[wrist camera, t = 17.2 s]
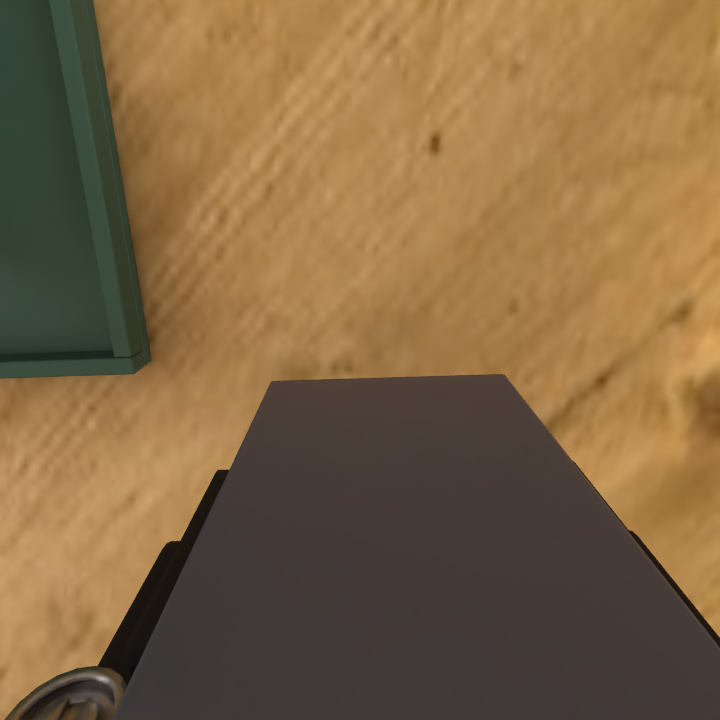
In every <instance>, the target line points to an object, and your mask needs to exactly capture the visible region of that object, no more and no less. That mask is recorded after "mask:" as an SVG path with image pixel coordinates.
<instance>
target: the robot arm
mask: <svg viewBox="0 0 720 720" xmlns="http://www.w3.org/2000/svg"><path fill="white" fill-rule="evenodd" d="M573 462H574V461H573ZM574 464H575V465H576V463H575V462H574ZM576 466H577V465H576ZM577 467H578V466H577ZM578 469H579V470H580V468H579V467H578ZM580 471H581V470H580ZM228 472H229V470H217V472H216V473H215V475H214V477H213V479H212V481H211V483H210V485H209V487H208V489H207V490H206V492H205V494H204V496H203V498H202V500H201V502H200V504H199V506H198V508H197V510H196V512H195V514H194V516H193V518H192V520H191V521H190V523H189V525H188V527H187V529H186V531H185V533H184V535H183V537H182V539H181V541H171V542H169V543H167V544H166V545H165V546H164V548H163V549H162V551H161V552H160V554H159V556H158V558H157V560H156V562H155V563H154V565H153V567H152V569H151V571H150V572H149V574H148V576H147V578H146V580H145V581H144V583H143V585H142V587H141V589H140V590H139V592H138V594H137V596H136V598H135V599H134V601H133V603H132V605H131V607H130V608H129V610H128V612H127V614H126V616H125V617H124V619H123V621H122V623H121V625H120V626H119V628H118V630H117V632H116V634H115V635H114V637H113V639H112V641H111V643H110V644H109V646H108V648H107V650H106V652H105V653H104V655H103V657H102V659H101V661H100V663H99V664H98V666H92V667H85V668H77V669H74V670H71V671H69V672H66V673H63V674H60V675H58V676H56V677H54V678H52V679H51V680H49V681H47V682H46V683H44V684H42V685H40V686H39V687H37V688H36V689H35V690H34V691H32V692H31V693H30V694H29V695H28V696H26V697H25V698H24V699H23V700H21V701H20V702H19V703H18V704H17V706H16V707H15V708H14V709H13V710H12V711H11V713H10V714H9V715H8V716H7V717H6V719H5V720H112V718H113V716H114V714H115V712H116V710H117V708H118V705H119V703H120V701H121V699H122V697H123V695H124V693H125V691H126V688H127V686H128V684H129V682H130V680H131V678H132V676H133V674H134V671H135V669H136V667H137V665H138V663H139V661H140V659H141V657H142V655H143V652H144V650H145V648H146V646H147V644H148V642H149V640H150V638H151V635H152V633H153V631H154V629H155V627H156V625H157V623H158V621H159V618H160V616H161V614H162V612H163V610H164V608H165V606H166V604H167V602H168V599H169V597H170V595H171V593H172V591H173V589H174V587H175V585H176V582H177V580H178V578H179V576H180V574H181V572H182V570H183V568H184V565H185V563H186V561H187V559H188V557H189V555H190V553H191V551H192V548H193V546H194V544H195V542H196V540H197V538H198V536H199V534H200V532H201V529H202V527H203V525H204V523H205V521H206V519H207V517H208V515H209V512H210V510H211V508H212V506H213V504H214V502H215V500H216V498H217V495H218V493H219V491H220V489H221V487H222V485H223V483H224V481H225V479H226V476H227V474H228ZM581 472H582V471H581ZM582 474H583V475H584V473H583V472H582ZM584 476H585V475H584ZM585 477H586V476H585ZM586 479H587V480H588V478H587V477H586ZM588 481H589V480H588ZM589 483H590V484H591V482H590V481H589ZM591 485H592V484H591ZM592 486H593V485H592ZM593 488H594V489H595V487H594V486H593ZM595 490H596V489H595ZM596 491H597V490H596ZM597 493H598V494H599V492H598V491H597ZM599 495H600V494H599ZM600 496H601V495H600ZM601 498H602V499H603V497H602V496H601ZM603 500H604V499H603ZM604 502H605V503H606V504H607V502H606V501H605V500H604ZM607 505H608V504H607ZM608 507H609V508H610V506H609V505H608ZM610 509H611V508H610ZM611 510H612V509H611ZM612 512H613V513H614V511H613V510H612ZM614 514H615V513H614ZM615 516H616V517H617V518H618V516H617V515H616V514H615ZM618 519H619V518H618ZM619 521H620V522H621V523H622V521H621V520H620V519H619ZM622 524H623V523H622ZM623 526H624V527H625V528H626V526H625V525H624V524H623ZM626 529H627V528H626ZM627 531H628V532H629V533H630V535H631V536H632V537H633V538H634V540H635V541H636V542H637V543H638V545H639V546H640V547H641V549H642V550H643V551H644V552H645V554H646V555H647V556H648V557H649V559H650V560H651V561H652V562H653V564H654V565H655V566H656V568H657V569H658V570H659V571H660V573H661V574H662V575H663V576H664V578H665V579H666V580H667V581H668V583H669V584H670V585H671V587H672V588H673V589H674V590H675V592H676V593H677V594H678V595H679V597H680V598H681V599H682V601H683V602H684V603H685V604H686V606H687V607H688V608H689V609H690V611H691V612H692V613H693V614H694V616H695V617H696V618H697V620H698V621H699V622H700V623H701V625H702V626H703V627H704V628H705V630H706V631H707V632H708V633H709V635H710V636H711V637H712V639H713V640H714V641H715V642H716V644H717V645H718V646H719V647H720V638H719V636H718V635H717V634H716V633H715V631H714V630H713V629H712V628H711V626H710V625H709V624H708V623H707V621H706V620H705V619H704V618H703V616H702V615H701V614H700V613H699V611H698V610H697V609H696V608H695V606H694V605H693V604H692V603H691V601H690V600H689V599H688V598H687V597H686V595H685V594H684V593H683V592H682V590H681V589H680V588H679V587H678V585H677V584H676V583H675V582H674V580H673V579H672V578H671V577H670V575H669V574H668V573H667V572H666V570H665V569H664V568H663V567H662V565H661V564H660V563H659V562H658V560H657V559H656V558H655V557H654V556H653V554H652V553H651V552H650V551H649V549H648V548H647V547H646V546H645V544H644V543H643V542H642V541H641V539H640V538H639V537H638V536H637V535H636V534H635V533H634V532H633V531H630V530H628V529H627Z"/></svg>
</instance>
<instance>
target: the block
mask: <svg viewBox="0 0 720 720" xmlns="http://www.w3.org/2000/svg"><path fill="white" fill-rule="evenodd" d="M112 720H720V647H719V646H718V645H717V644H716V642H715V641H714V640H713V639H712V637H711V636H710V635H709V633H708V632H707V631H706V630H705V628H704V627H703V626H702V625H701V623H700V622H699V621H698V620H697V618H696V617H695V616H694V614H693V613H692V612H691V611H690V609H689V608H688V607H687V606H686V604H685V603H684V602H683V601H682V599H681V598H680V597H679V595H678V594H677V593H676V592H675V590H674V589H673V588H672V587H671V585H670V584H669V583H668V581H667V580H666V579H665V578H664V576H663V575H662V574H661V573H660V571H659V570H658V569H657V568H656V566H655V565H654V564H653V562H652V561H651V560H650V559H649V557H648V556H647V555H646V554H645V552H644V551H643V550H642V549H641V547H640V546H639V545H638V543H637V542H636V541H635V540H634V538H633V537H632V536H631V535H630V533H629V532H628V531H627V529H626V528H625V527H624V526H623V524H622V523H621V522H620V521H619V519H618V518H617V517H616V516H615V514H614V513H613V512H612V510H611V509H610V508H609V507H608V505H607V504H606V503H605V502H604V500H603V499H602V498H601V496H600V495H599V494H598V493H597V491H596V490H595V489H594V488H593V486H592V485H591V484H590V483H589V481H588V480H587V479H586V477H585V476H584V475H583V474H582V472H581V471H580V470H579V469H578V467H577V466H576V465H575V464H574V462H573V461H572V460H571V458H570V457H569V456H568V455H567V453H566V452H565V451H564V450H563V448H562V447H561V446H560V444H559V443H558V442H557V441H556V439H555V438H554V437H553V436H552V434H551V433H550V432H549V431H548V429H547V428H546V427H545V425H544V424H543V423H542V422H541V420H540V419H539V418H538V417H537V415H536V414H535V413H534V412H533V410H532V409H531V408H530V406H529V405H528V404H527V403H526V401H525V400H524V399H523V398H522V396H521V395H520V394H519V392H518V391H517V390H516V389H515V387H514V386H513V385H512V384H511V382H510V381H509V380H508V379H507V377H506V376H505V375H503V374H491V375H458V376H425V377H391V378H358V379H325V380H291V381H272V382H271V383H270V385H269V387H268V389H267V392H266V394H265V396H264V398H263V400H262V402H261V404H260V406H259V409H258V411H257V413H256V415H255V417H254V419H253V421H252V423H251V425H250V428H249V430H248V432H247V434H246V436H245V438H244V440H243V442H242V445H241V447H240V449H239V451H238V453H237V455H236V457H235V459H234V462H233V464H232V466H231V468H230V470H229V472H228V474H227V476H226V479H225V481H224V483H223V485H222V487H221V489H220V491H219V493H218V495H217V498H216V500H215V502H214V504H213V506H212V508H211V510H210V512H209V515H208V517H207V519H206V521H205V523H204V525H203V527H202V529H201V532H200V534H199V536H198V538H197V540H196V542H195V544H194V546H193V548H192V551H191V553H190V555H189V557H188V559H187V561H186V563H185V565H184V568H183V570H182V572H181V574H180V576H179V578H178V580H177V582H176V585H175V587H174V589H173V591H172V593H171V595H170V597H169V599H168V602H167V604H166V606H165V608H164V610H163V612H162V614H161V616H160V618H159V621H158V623H157V625H156V627H155V629H154V631H153V633H152V635H151V638H150V640H149V642H148V644H147V646H146V648H145V650H144V652H143V655H142V657H141V659H140V661H139V663H138V665H137V667H136V669H135V671H134V674H133V676H132V678H131V680H130V682H129V684H128V686H127V688H126V691H125V693H124V695H123V697H122V699H121V701H120V703H119V705H118V708H117V710H116V712H115V714H114V716H113V718H112Z"/></svg>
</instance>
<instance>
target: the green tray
mask: <svg viewBox="0 0 720 720" xmlns="http://www.w3.org/2000/svg"><path fill="white" fill-rule="evenodd" d="M149 362H151V357H150V350H149V344H148V338H147V332H146V326H145V320H144V313H143V307H142V301H141V295H140V289H139V283H138V277H137V270H136V264H135V258H134V252H133V246H132V240H131V233H130V227H129V221H128V215H127V209H126V203H125V197H124V190H123V184H122V178H121V172H120V166H119V160H118V153H117V147H116V141H115V135H114V129H113V123H112V117H111V110H110V104H109V98H108V92H107V86H106V80H105V73H104V67H103V61H102V55H101V49H100V43H99V37H98V30H97V24H96V18H95V12H94V6H93V0H0V378H30V377H60V376H91V375H121V374H135V373H136V372H137V371H139V370H140V369H141V368H142V367H144V366H145V365H147V364H148V363H149Z"/></svg>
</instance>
